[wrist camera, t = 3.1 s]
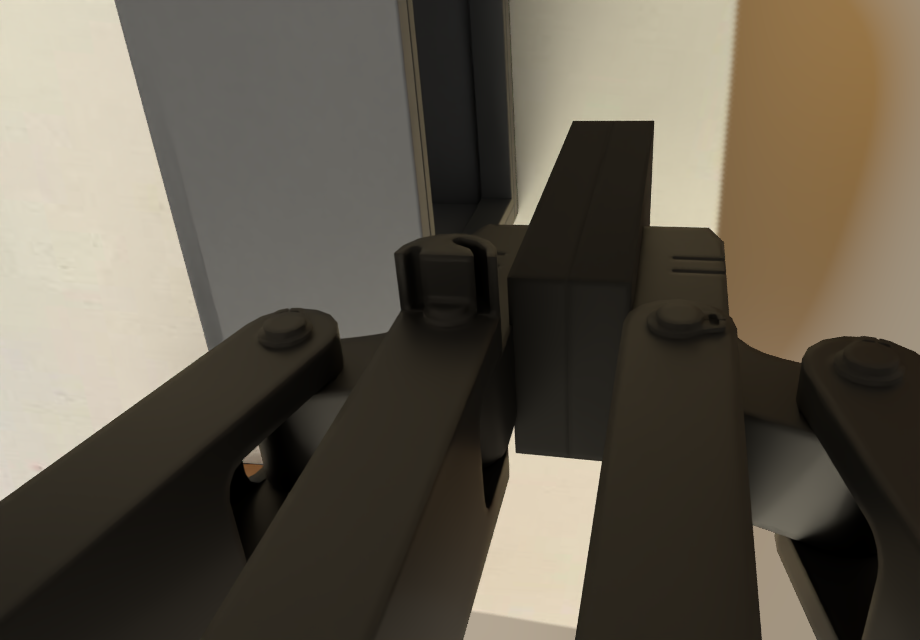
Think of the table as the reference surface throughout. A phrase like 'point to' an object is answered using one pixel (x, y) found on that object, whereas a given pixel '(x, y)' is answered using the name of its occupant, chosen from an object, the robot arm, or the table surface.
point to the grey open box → (322, 143)
